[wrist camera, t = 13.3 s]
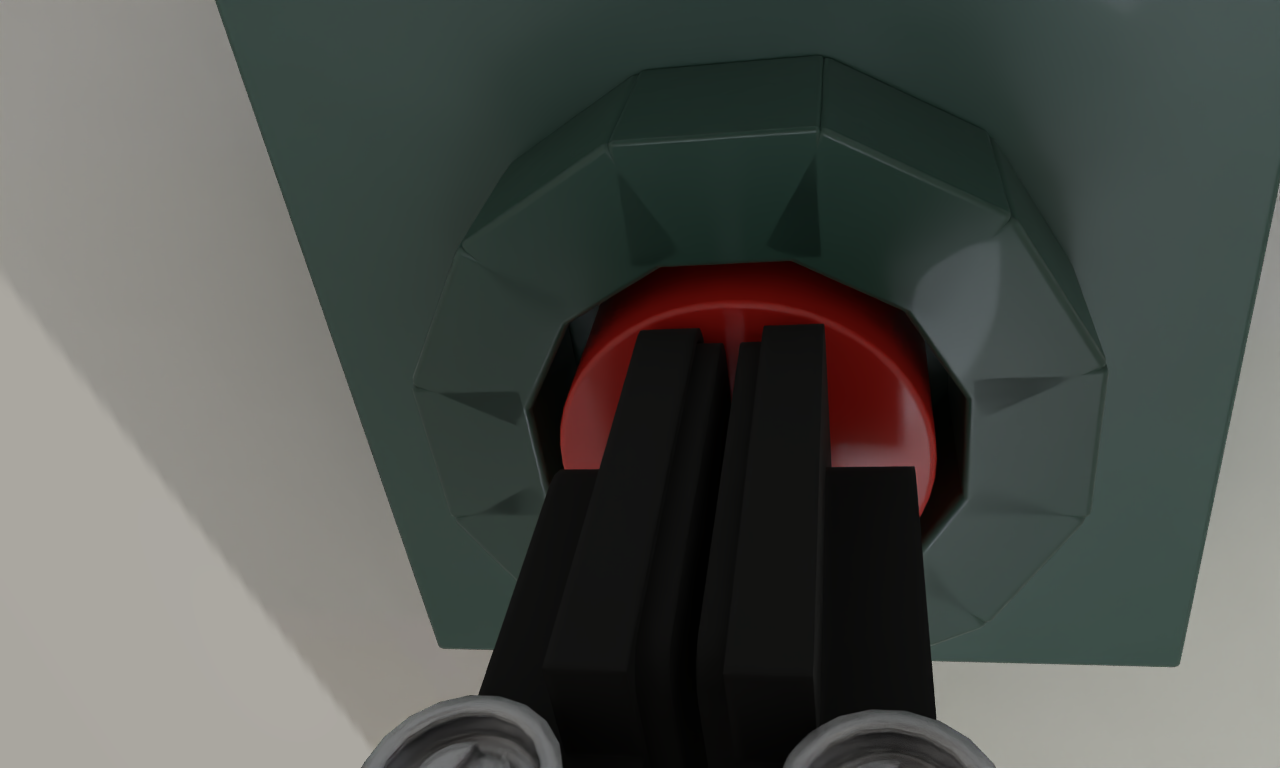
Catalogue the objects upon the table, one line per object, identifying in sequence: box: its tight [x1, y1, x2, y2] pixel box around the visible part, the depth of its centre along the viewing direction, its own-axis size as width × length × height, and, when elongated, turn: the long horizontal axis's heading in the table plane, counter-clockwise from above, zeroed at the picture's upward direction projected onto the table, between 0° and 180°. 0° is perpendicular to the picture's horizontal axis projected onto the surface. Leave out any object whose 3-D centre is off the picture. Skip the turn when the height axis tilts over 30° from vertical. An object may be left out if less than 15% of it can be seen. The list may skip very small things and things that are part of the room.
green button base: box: [215, 0, 1280, 667], centre depth 12 cm, size 10×10×4 cm
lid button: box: [560, 261, 937, 516], centre depth 11 cm, size 4×4×2 cm
